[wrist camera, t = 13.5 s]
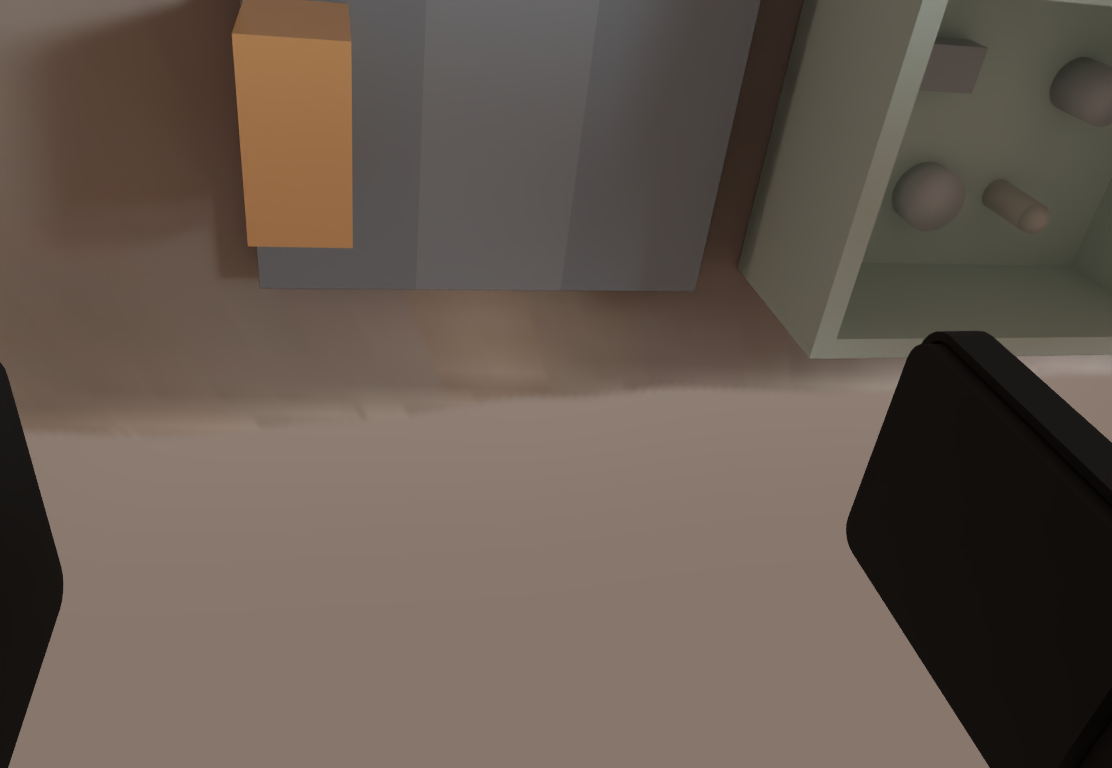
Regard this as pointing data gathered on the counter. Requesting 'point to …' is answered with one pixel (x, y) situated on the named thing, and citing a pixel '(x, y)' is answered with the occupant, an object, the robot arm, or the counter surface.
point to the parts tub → (940, 178)
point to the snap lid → (485, 140)
